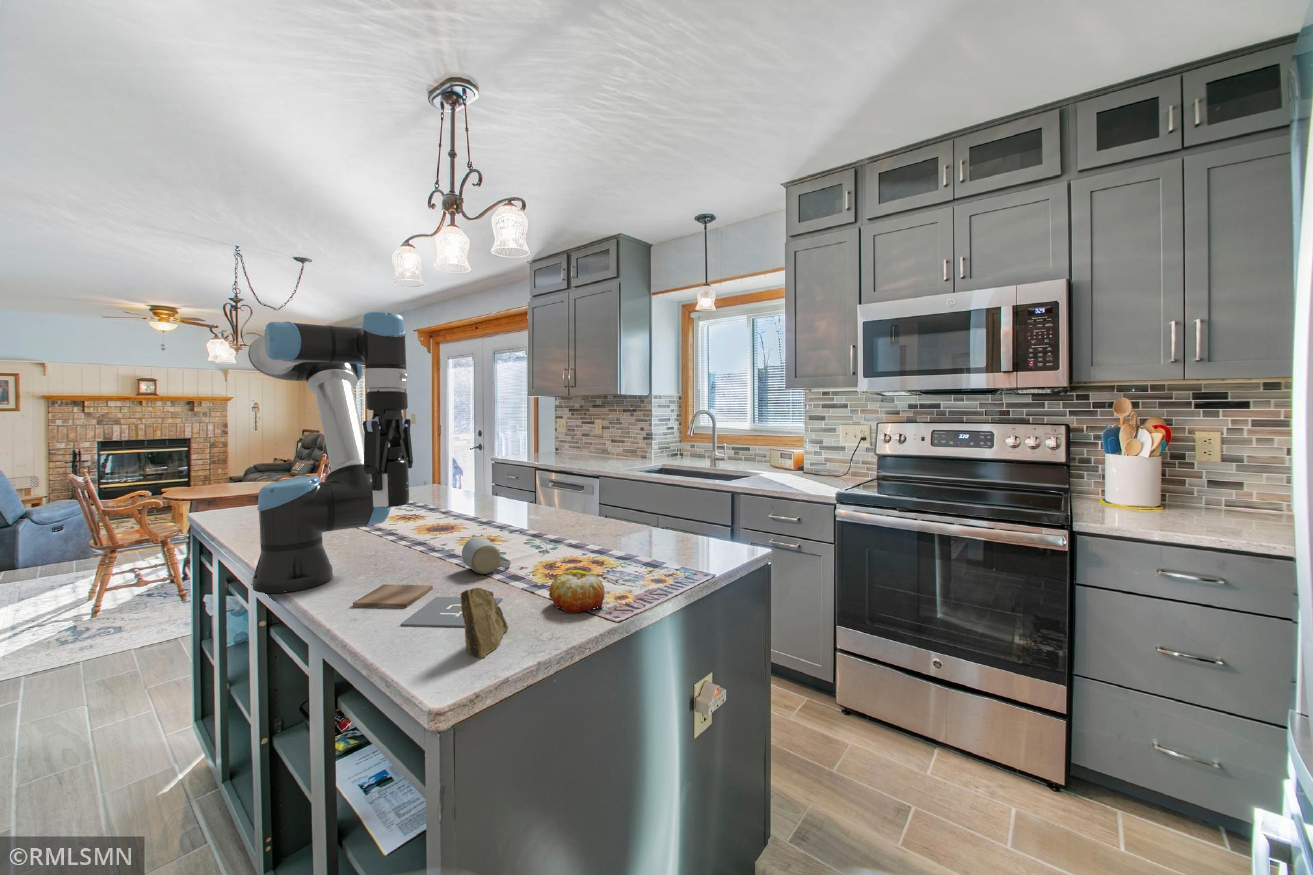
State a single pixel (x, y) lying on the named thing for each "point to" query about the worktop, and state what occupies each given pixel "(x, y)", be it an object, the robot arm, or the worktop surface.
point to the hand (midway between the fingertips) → (391, 502)
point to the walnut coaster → (393, 596)
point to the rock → (482, 621)
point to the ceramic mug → (483, 556)
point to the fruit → (577, 591)
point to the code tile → (440, 613)
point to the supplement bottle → (396, 477)
